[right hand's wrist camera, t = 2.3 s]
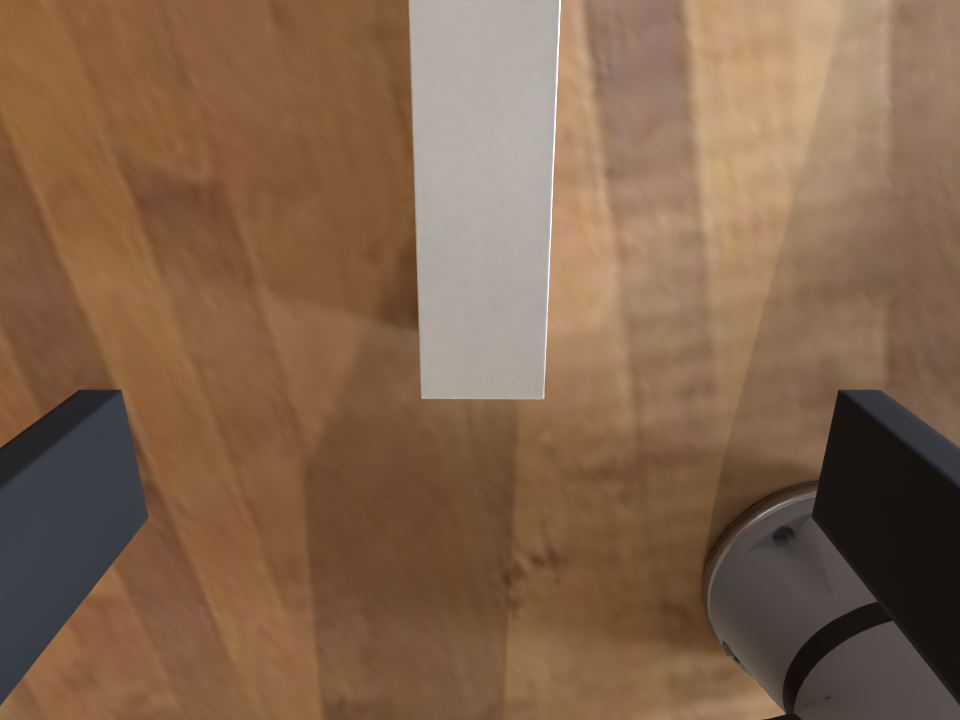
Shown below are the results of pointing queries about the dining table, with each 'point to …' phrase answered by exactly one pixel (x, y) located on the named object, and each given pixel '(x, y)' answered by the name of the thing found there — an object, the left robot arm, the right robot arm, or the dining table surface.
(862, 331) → the dining table surface
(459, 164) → the post
